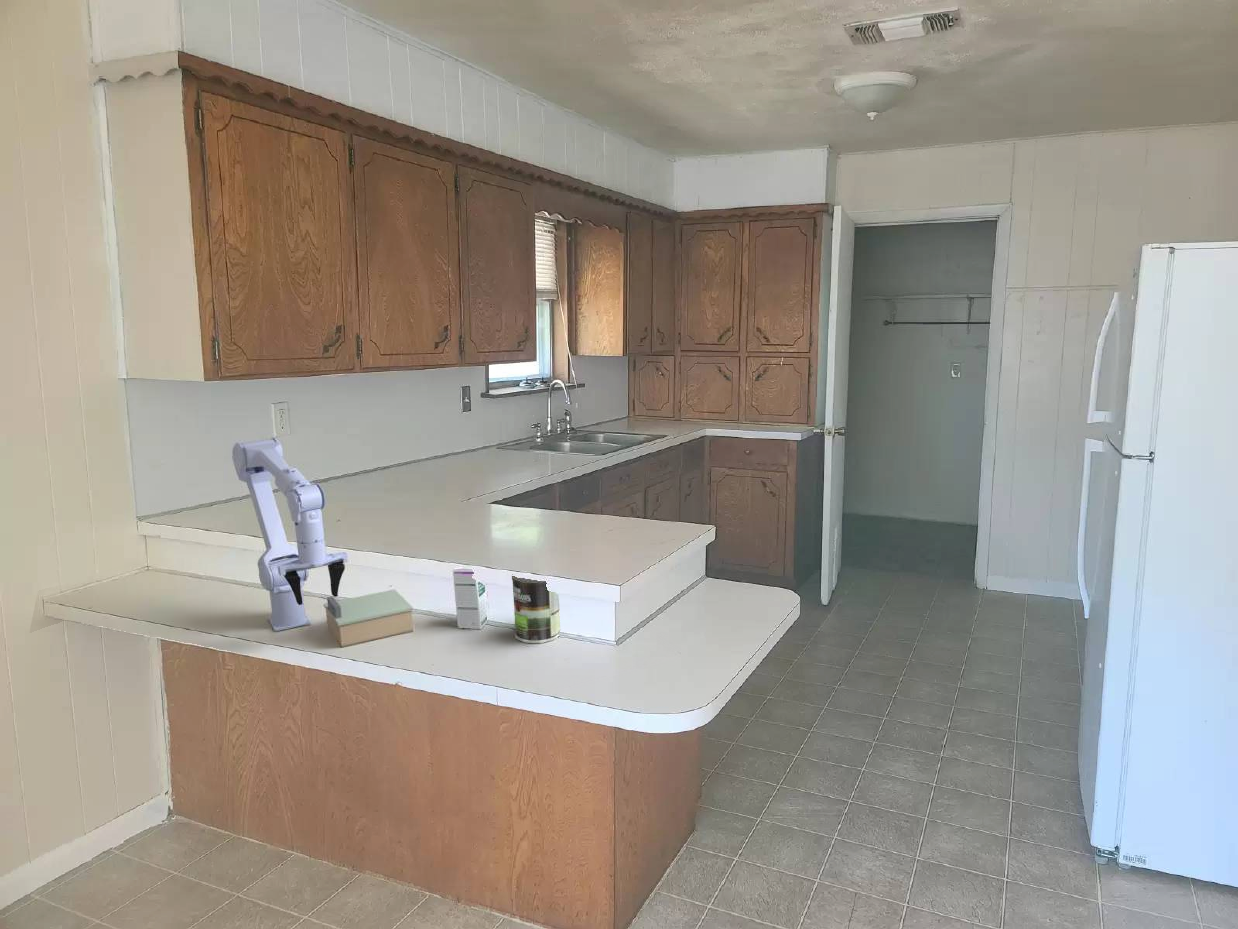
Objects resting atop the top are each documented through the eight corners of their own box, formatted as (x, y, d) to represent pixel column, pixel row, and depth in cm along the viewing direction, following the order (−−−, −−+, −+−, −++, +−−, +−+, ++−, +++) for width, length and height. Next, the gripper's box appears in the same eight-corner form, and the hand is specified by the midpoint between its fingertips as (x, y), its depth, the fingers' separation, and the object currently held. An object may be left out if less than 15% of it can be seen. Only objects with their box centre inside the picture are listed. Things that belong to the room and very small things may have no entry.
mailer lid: (323, 606, 203) (322, 593, 202) (394, 591, 211) (393, 579, 210) (338, 626, 190) (337, 612, 190) (413, 610, 198) (412, 597, 198)
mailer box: (327, 627, 204) (325, 607, 203) (395, 612, 211) (393, 593, 210) (341, 647, 192) (339, 626, 191) (413, 631, 200) (411, 610, 199)
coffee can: (532, 647, 188) (528, 585, 186) (506, 634, 196) (502, 574, 193) (570, 634, 195) (567, 574, 192) (544, 622, 203) (540, 564, 200)
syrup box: (481, 630, 199) (477, 569, 196) (456, 628, 200) (452, 568, 197) (489, 620, 205) (485, 561, 202) (465, 619, 206) (461, 560, 203)
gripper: (281, 550, 183) (288, 612, 186) (349, 537, 191) (355, 596, 194) (272, 543, 189) (279, 603, 191) (339, 531, 197) (345, 588, 199)
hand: (317, 599), depth 193 cm, fingers open, 7 cm apart
